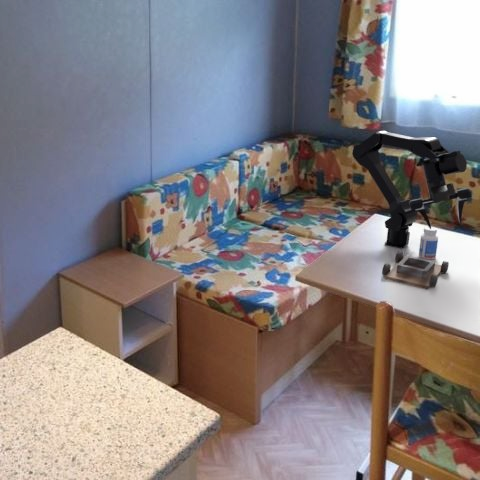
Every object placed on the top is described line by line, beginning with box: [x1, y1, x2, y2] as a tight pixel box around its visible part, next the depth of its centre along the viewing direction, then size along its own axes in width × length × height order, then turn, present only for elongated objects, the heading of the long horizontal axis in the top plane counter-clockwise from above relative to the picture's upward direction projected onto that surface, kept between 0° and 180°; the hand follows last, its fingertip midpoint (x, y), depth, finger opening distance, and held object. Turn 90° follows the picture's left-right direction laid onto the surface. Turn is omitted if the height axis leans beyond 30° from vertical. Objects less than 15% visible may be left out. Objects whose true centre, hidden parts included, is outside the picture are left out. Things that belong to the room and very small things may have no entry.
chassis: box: [381, 250, 450, 290], centre depth 207 cm, size 16×18×4 cm
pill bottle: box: [418, 226, 439, 260], centre depth 219 cm, size 6×5×10 cm
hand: (445, 225), depth 214 cm, fingers open, 9 cm apart
